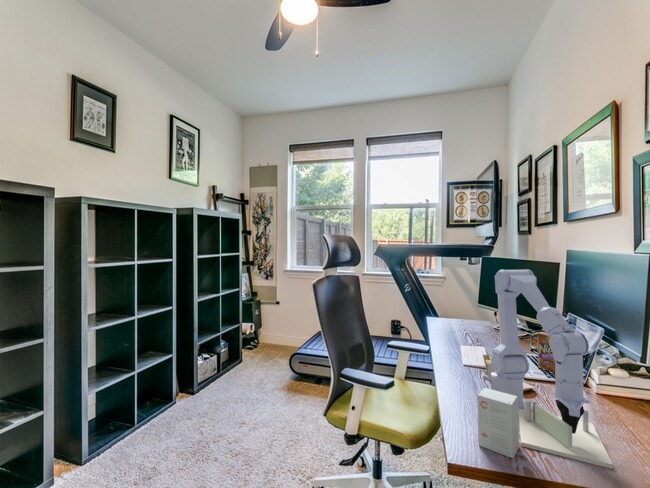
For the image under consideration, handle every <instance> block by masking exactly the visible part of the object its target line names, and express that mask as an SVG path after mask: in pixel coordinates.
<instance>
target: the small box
mask: <svg viewBox="0 0 650 488" xmlns="http://www.w3.org/2000/svg"><path fill="white" fill-rule="evenodd" d="M477 428H478V429H477V432H478V433H477V434H478V436H477V437H478V446H479V447H482V448H485V449H487V450H489V451H492V452H495V453H497V454H499V455H503V456H506V457H508V458H510V459H514V458H515V455H516V454H517V452H518V450H519V449H520V427H519V415H518V396H514V395H511V394H507V393H503V392H499V391H495V390H492V389H491V388H489V387H485V388H484V389H482V390H481V391H479V393H478V394H477Z"/></svg>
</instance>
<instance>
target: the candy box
mask: <svg viewBox="0 0 650 488" xmlns="http://www.w3.org/2000/svg"><path fill="white" fill-rule="evenodd" d="M536 336H537V339H536V340H537V368H538V367H539V368H542V369H545V370H548V371H550V372H553V373H555V360H554V358H553V353H552V350H551V348H550V345H549V340H550V337H549V336H548V334H547V333H546V331H540V332H537V334H536Z"/></svg>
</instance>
